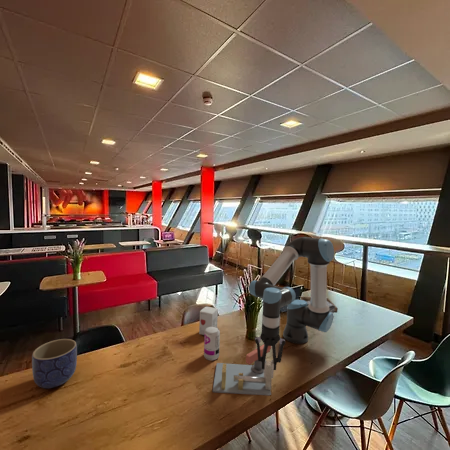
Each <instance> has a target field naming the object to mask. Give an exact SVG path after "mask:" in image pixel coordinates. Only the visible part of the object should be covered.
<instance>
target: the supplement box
mask: <svg viewBox="0 0 450 450" xmlns="http://www.w3.org/2000/svg"><path fill="white" fill-rule="evenodd" d="M218 314H219V308H217V307H210V306H205V307H203V308H202V309H200V311H199V331H198V332H199V333H198V334H199V335H202V336H204V333H205V330H206V328H207V327H210V326H214V327H217V328H218V316H219V315H218Z"/></svg>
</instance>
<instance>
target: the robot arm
mask: <svg viewBox="0 0 450 450" xmlns="http://www.w3.org/2000/svg"><path fill="white" fill-rule="evenodd" d="M334 254H335V248H334V245H333V242H332V241H331V240H330V239H325V238H323V237H321V238H320V237H319V238H318V237H308V236H299V237H297V238H296V237H295V239H293V240H291V241H289V242H287V244H286V245H285V246H284V247H283V249H282V252H281V253H280V255H279V256H278V257H277V258H276V260H275V261H274V262H273V263H272V265H271V266H270V267H269V268H268V269H267V271H265V273H264V274H263V275H262V276H261V278H260V279H259V280H255V279H254V280H252V281H251V282H250V283H249V285H248V291H249V293H250V295H252V296H254V297H256V298H259V299H262V314H261V317H262V319H261V323H262V324H261V333H260V336H255V337H254V341H255V344H256V349H257V353H258V361H261V362H262V369H264V378H266V365H267V363H266V361H267V359H266V358H267V354H268V353H267V349H268V346H271V349H272V359H271V363H272V379H274V374H275V373H274V371H277V364H278V363H281V362H282V357H283V351H284V347H285V345H286V341H288V342H290V343H293V344H299V345H302V344H306V343H307V342H309V334H308V330H307V329H308V328H307V327H309V328H310V329H314V330H316V331H317V330H318V331H319V332H322V333H327V332H328V331H330V329H331V327H332V324H333V321H334V313H331V312H329V306H328V305H327V298H328V297H327V289H328V288H327V286H328V285H327V284H328V282H327V279H328V278H327V277H328V276H327V275H328V272H327V269H328V266H329V264H330V262H332V261H333V259H334V258H335V257H334V256H335V255H334ZM299 258H306V259H307V263H308V264H309V265H310V270H309V271H310V297H311V303H310V304H309V305H307V301H305V300H299V299H296V297H297V296H296V295H297V294H296V292H295V290H294V289H293V287H290V286H284V287H280V286H277V285H276V284H277V283H278V282H279V280H280V279H281V278H282V277H283V275H284V273H286V272H287V270H288V269H289V268H290V266H291V265H292V263H293V262H294V261H297V260H298V259H299ZM286 306H287V307H286ZM284 307H286V324H285V326H284V329H283V332H282V336H283V338H281V336H280V323H281V309H282V308H284ZM261 341H262V343H263V344H264V348H263V354H262V357H261V355H260V346H261V345H260V344H261ZM278 343H279V346H278V351H276V345H277V344H278Z"/></svg>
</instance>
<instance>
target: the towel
mask: <svg viewBox="0 0 450 450" xmlns="http://www.w3.org/2000/svg"><path fill="white" fill-rule="evenodd" d="M306 302H307V305H309V304H310V303H311V300H310V301H306ZM333 304H334V303H333ZM333 304H331V303H329V302H328V301H327V305H328V306H329V312H331V313H333V314H334V313H335V312H334V311H335V310H334V309H335V306H336V305H335V304H334V305H335V306H334V305H333Z"/></svg>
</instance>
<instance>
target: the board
mask: <svg viewBox="0 0 450 450" xmlns="http://www.w3.org/2000/svg"><path fill="white" fill-rule="evenodd" d="M223 364H226V385H225V390H223V389H222V368H223ZM214 372H215V374H214V380H213V387H212V393H222V394H236V395H237V394H239V395H252V396H253V395H254V396H256V395H257V396H270V395H271V396H272V392H271V391H272V390H265V384H262V383H248V382H243V390H238V382H234V375H239V373H243V376H254V377H264V369H262V362H261V361H258V360H256V361H255V362H253V365H252V364H250V365H249V364H239V363H238V364H237V363H224V362H216V367H215V371H214Z"/></svg>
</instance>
